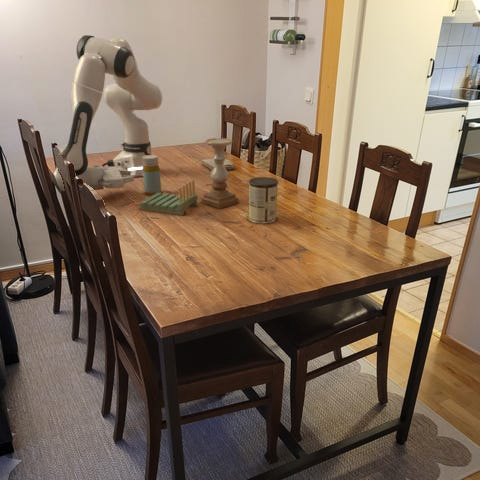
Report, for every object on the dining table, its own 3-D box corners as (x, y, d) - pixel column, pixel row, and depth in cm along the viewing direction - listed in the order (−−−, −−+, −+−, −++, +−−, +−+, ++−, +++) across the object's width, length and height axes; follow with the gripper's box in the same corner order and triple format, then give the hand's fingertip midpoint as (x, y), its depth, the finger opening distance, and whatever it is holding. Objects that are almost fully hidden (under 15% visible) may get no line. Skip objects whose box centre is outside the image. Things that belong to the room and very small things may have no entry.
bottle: (163, 191, 206) (160, 155, 198) (159, 196, 200) (156, 159, 193) (147, 190, 207) (143, 154, 199) (142, 195, 201) (139, 158, 193)
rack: (139, 209, 185) (137, 183, 180) (157, 199, 196) (155, 174, 191) (181, 215, 180) (180, 188, 174) (197, 204, 191) (196, 179, 186)
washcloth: (213, 172, 234) (213, 165, 232) (200, 164, 248) (200, 157, 246) (235, 169, 238) (236, 163, 237) (221, 161, 252) (221, 155, 250)
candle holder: (200, 202, 193) (198, 140, 181) (219, 196, 200) (218, 136, 188) (219, 208, 187) (218, 144, 175) (238, 202, 194) (239, 140, 182)
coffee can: (253, 213, 183) (254, 175, 176) (279, 216, 180) (281, 178, 173) (244, 221, 175) (245, 183, 168) (271, 225, 172) (273, 186, 165)
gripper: (98, 177, 183) (135, 174, 187) (94, 164, 200) (127, 162, 204) (101, 193, 187) (136, 190, 191) (96, 179, 203) (129, 177, 207)
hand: (132, 175), depth 197 cm, fingers open, 8 cm apart
